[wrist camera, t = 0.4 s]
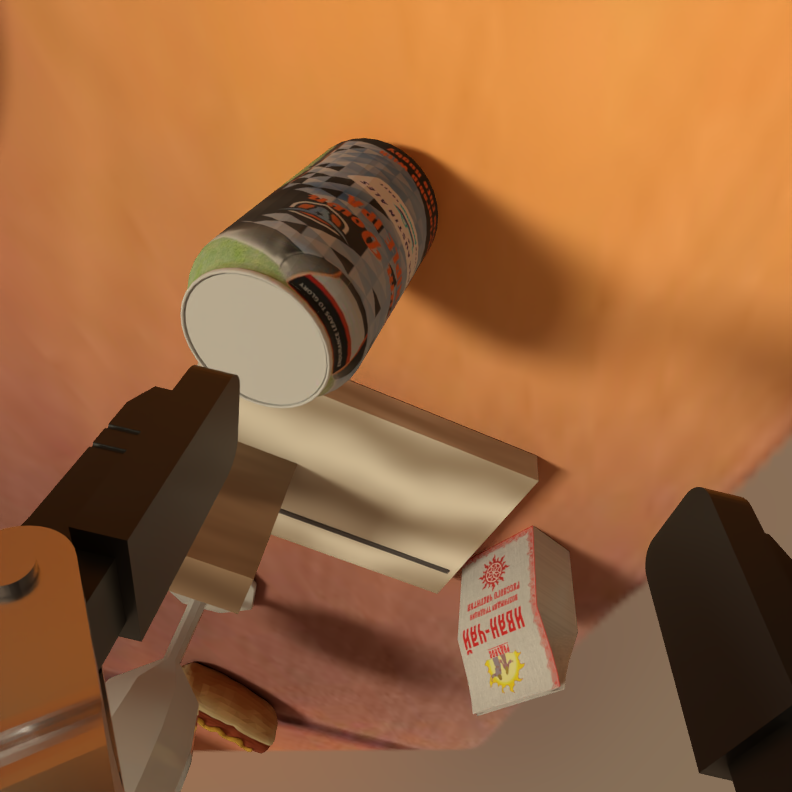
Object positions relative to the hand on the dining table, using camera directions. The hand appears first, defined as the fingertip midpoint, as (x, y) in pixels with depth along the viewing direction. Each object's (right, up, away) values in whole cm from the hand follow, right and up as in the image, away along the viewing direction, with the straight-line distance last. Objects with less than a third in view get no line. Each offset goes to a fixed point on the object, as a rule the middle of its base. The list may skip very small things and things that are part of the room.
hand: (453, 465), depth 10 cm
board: (-4, -3, +27) cm, 28 cm away
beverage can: (-3, +10, +16) cm, 19 cm away
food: (-19, -30, +53) cm, 64 cm away
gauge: (-11, -3, +25) cm, 28 cm away
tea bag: (+7, -10, +31) cm, 33 cm away
